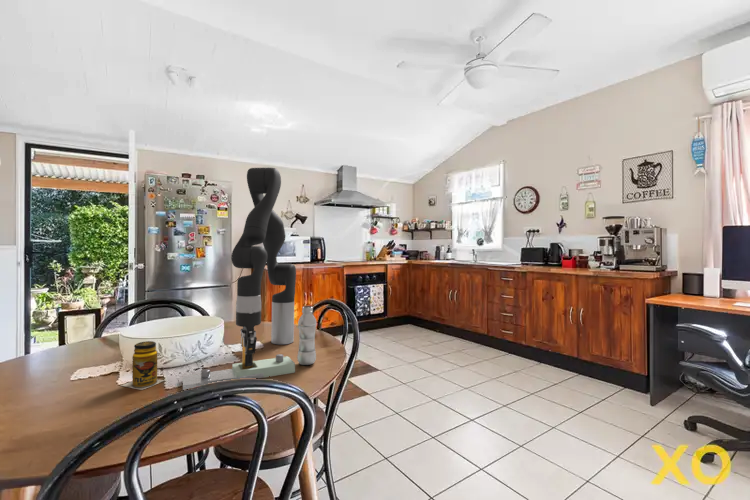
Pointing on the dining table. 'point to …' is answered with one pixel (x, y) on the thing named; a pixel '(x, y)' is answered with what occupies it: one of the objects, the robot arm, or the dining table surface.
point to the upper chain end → (267, 367)
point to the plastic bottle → (307, 337)
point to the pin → (244, 359)
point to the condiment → (144, 366)
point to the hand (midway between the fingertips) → (247, 363)
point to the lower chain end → (212, 377)
